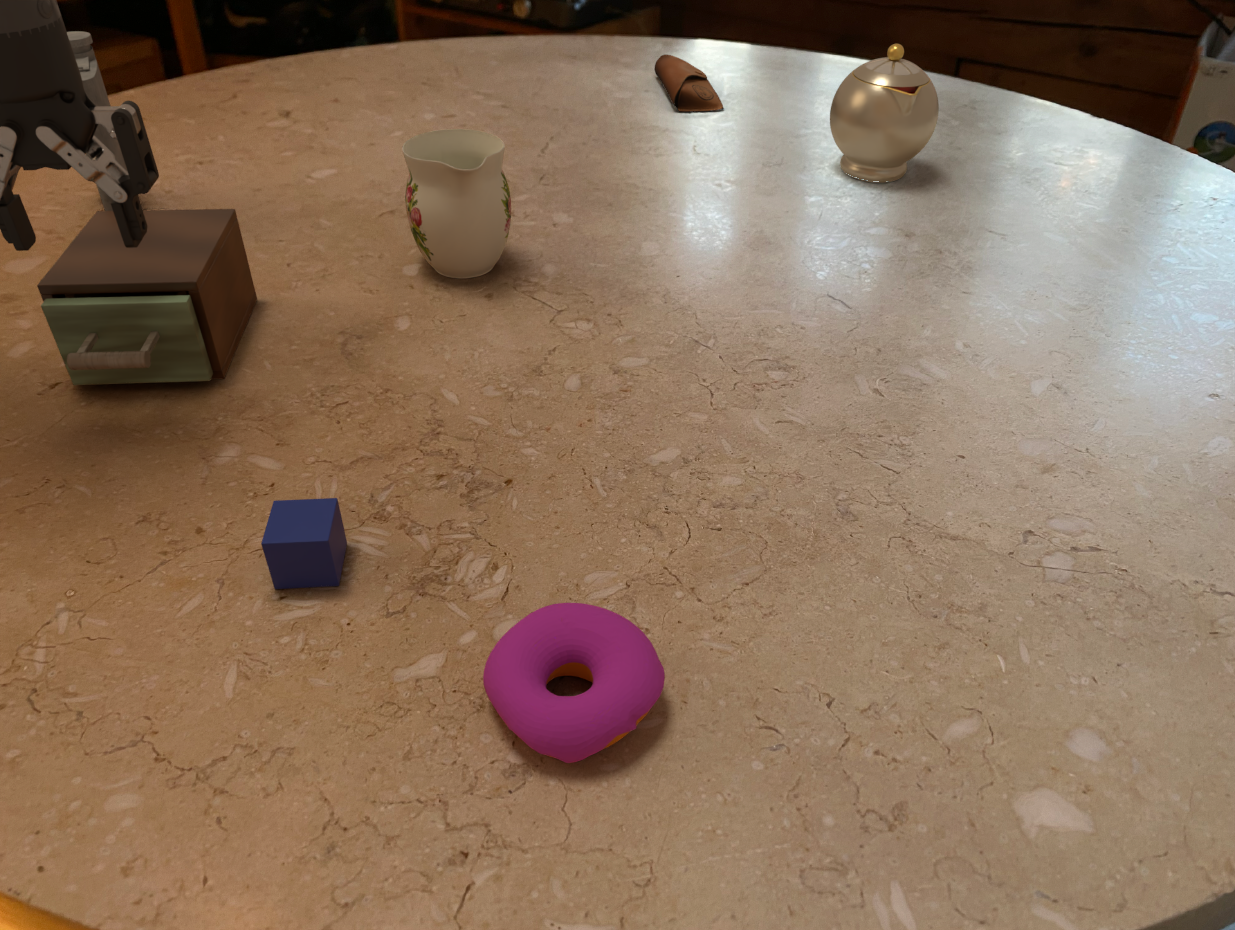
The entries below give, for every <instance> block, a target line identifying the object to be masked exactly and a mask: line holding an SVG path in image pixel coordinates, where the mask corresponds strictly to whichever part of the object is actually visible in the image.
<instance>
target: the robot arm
mask: <svg viewBox="0 0 1235 930" xmlns="http://www.w3.org/2000/svg"><path fill="white" fill-rule="evenodd" d="M67 32H68V31H67V28H66V26H65V22H64V20H63V17H62V13H61V11H60V8H59V5H58V1H57V0H0V233H1V235H2V238H3V239H4V240H5V241H6V242H7V243H8V244H12V245H13V247H14V249H15V251H17V252H23V251H24V252H25V251H29V250H31V248H32V247H33V246H34V245H35V244H36V242H37V236H36V233H35V230H34V228H33V225H32V222H31V220H30V218H29V216H28V212H27V211H26V208H25V206H24V203H23V199H22V198H21V196H20V193H19V194H17V193H16V194H15V193H14V192H13V189H14V187H15V185H16V180H17V177H18V174H19V172H20V170H21V168H22V170H23V171H38V170H40V169H44V168H46V169H47V168H48V169H52V170H56V171H68V170H70V169H71V168H73V169H74V170H75V171H76V172H77V173H78V175H80V176H81V177H82V178H83V179H84V180H86V181H87V182H92V183H94V184H95V185H97V186H98V187H100V188H101V189H102V190H103V191H104V192H105V193H106V194H107V195H108V196H109V197H110V198H111V199H113V201H112V203H111V206H112V209H113V212H114V215H115V218H116V221H117V224H118V227H119V230H120V233H121V236H122V239H123V242H124V245H125V247H126V248H136V247H138V245H139V244H140V242H141V241H142V239H143V237H144V235H145V234H146V233H147V227H148V226H147V222H146V219H145V216H144V213H143V210H144V209H143V206H142V202H141V199H140V196H139V195H146V194H148V193H149V192H150V190H151V189H152V188H153V187H154V185H155V183H156V182H157V181H158V180H159V178H160V172H159V169H158V166H157V163H156V159H155V156H154V152H153V149H152V147H151V146H152V145H151V143H150V140H149V139H150V138H149V136H148V132H147V129H146V125H145V122H144V119H143V116H142V113H141V109H140V107H139V105H138V104H137V102H135V101H132V100H125V101H123V102H122V103H121V104H120V105H114V106H113V105H110V106H99V107H96V105H95V104H94V103H93V102H92V101H91V100H90V99H89V97H88V96H87V94H86V92H85V90H84V87H83V82H82V78H81V74H80V71H79V68H78V65H77V62H76V59H75V56H74V53H73V50H72V47H71V44H70V41H69V38H68V35H67ZM98 124H100V125H102V126H104V127H105V128H106V130H107V131H108V133H109V135H110V136H111V137H112V138H114V139H117V140H118V143H119V146H120V149H121V152H122V155H123V158H124V162H125V165H126V168H127V171H128V172H127V171H126V170H125V169H124V168H123V167H122V166H121V165H120V164H119V163H118V162H117V161H116V160H115V157H114V154H113V153H112V152H111V151H110V150H109V149H108V148H107V147H106V146H105V145H104V144H103V143H102V142H101V141H100V140H99V139H98V138H97V137H95V136H94V133H95V131H96V129H97V126H98ZM86 152H87V153H88V154H89V155H90V157H91V158H92V160H91V159H90V158H89V157H88V156H87V155H86ZM97 186H96V187H97ZM138 196H139V197H138ZM139 199H140V200H139ZM140 202H141V203H140ZM141 206H142V207H141ZM142 209H143V210H142Z"/></svg>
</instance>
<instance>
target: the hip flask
mask: <svg viewBox="0 0 1235 930" xmlns="http://www.w3.org/2000/svg"><path fill="white" fill-rule="evenodd" d="M67 35H68V38H69V41H70V44H71V47H72V50H73V53H74V56H75V59H76V62H77V65H78V68H79V71H80V74H81V78H82V82H83V87H84V90H85V92H86V94H87V96H88V97H89V99H90V100H91V101H92V102H93V103H94V104H95V105H96V107H99V106H111V102H110V100H109V95H108V93H107V90H106V87H105V83H104V80H103V77H102V73H101V70H100V67H99V64H98V61H97V57H96V55H95V51H94V47H93V46H92V45H91V44H93V43H94V41H93V38H92V35H91V33H90V32H89V31H88V32H87V31H81V30H80V31H79V30H77V31H76V30H75V31H67ZM94 136H95V137H97V138H98V139H99V140H100V141H101V142H102V143H103V144H104V145H105V146H106V147H107V148H108V149H109V150H110V151H111V152H112V153H113V154H114V157H115V160H116V161H117V162H118V163H119V164H120V165H121V166H122V167H123V168H124V169H125V170H126V171H127V168H126V165H125V162H124V158H123V155H122V152H121V149H120V146H119V143H118V140H117V139H114V138H112V137H111V136H110V135H109V133H108V131H107V130H106V128H105V127H104V126H102V125H100V124H98V126H97V129H96V131H95V133H94ZM86 155H87V156H88V157H89V158H90V159H91V160H92V158H91V157H90V155H89V154H88V153H87V152H86ZM127 172H128V171H127ZM95 185H96V184H95ZM96 188H97V191H98V194H99V197H100V200H101V203H102V206H103V208H104V211H113V209H112V206H111V203H112V201H113V199H111V198H110V197H109V196H108V195H107V194H106V193H105V192H104V191H103V190H102V189H101V188H100V187H98V186H97V185H96ZM138 197H139V200H140V203H141V204H142V202H141V199H140V196H139V195H138ZM141 207H142V210H144V209H143V206H142V205H141Z"/></svg>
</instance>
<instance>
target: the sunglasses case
mask: <svg viewBox="0 0 1235 930" xmlns="http://www.w3.org/2000/svg"><path fill="white" fill-rule="evenodd" d="M654 73H655V75H656V77H657V78H658V79H659V81H660V83H661V84H662V86H663V88H664V89H665V92H666V94H667V95H668V97H669V99H670V101H671V103H672V105H673V106H674V107H675V108H676V110H677V111H678V112H681V113H706V112H716V111H721V110H723V109H724V105H723V103H722V100H721V99H720V97H719V95H718V93H717V92H716V90H715V88H714V86H713V85H712V83H710V81H709V78H708V76H707V75H706V73H705V72H704V71H703V70H701V69H699V68H697V67H696V66H694V65H692V64H691V63H689V62H688V61H686V60H684V59H681V58H680V57H677V56H675V55H672V54H662V55H660V56H659V57H658V58H657V59H656V62H655V63H654Z"/></svg>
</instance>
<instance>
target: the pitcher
mask: <svg viewBox="0 0 1235 930" xmlns="http://www.w3.org/2000/svg"><path fill="white" fill-rule="evenodd" d="M505 150H506V144H505V142H504V140H503V139H502V138H500V136H497V135H495V134H493V133H490V132H487V131H484V130H479V129H472V128H444V129H436V130H431V131H426V132H422V133H419V134H417V135H414V136H411V137H410V138H409V139H407V140H406V141H405V142H404V143H403V145H402V147H401V151H402V155H403V158H404V160H405V164H406V167H407V170H408V176H407V181H406V186H405V195H404V197H405V199H404V200H405V209H406V216H407V221H408V224H409V229H410V232H411V234H412V237H413V240H414V241H415V244H416V245H417V248H418V249H419V251H420V253H421V255H422V256H423V258H424V259H425V261H426V262H427V263H428V264H429V265H430V266H431V267H432V268H433V269H434V271H435V272H436V273H438V274H439V275H442V276H444V277H447V278H451V279H471V278H477V277H480V276H483V275H485V274H487V273H489V272H491V271H492V270H493V268H494V267H495V265H496V264H497V262H498V261H499V260H500V258H501V256H502V254H503V252H504V250H505V247H506V245H507V242H508V239H509V238H508V237H509V234H510V229H511V228H510V227H511V222H512V197H511V192H510V187H509V184H508V180H507V177H506V175H505V172H504V170H503V164H504V156H505Z"/></svg>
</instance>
